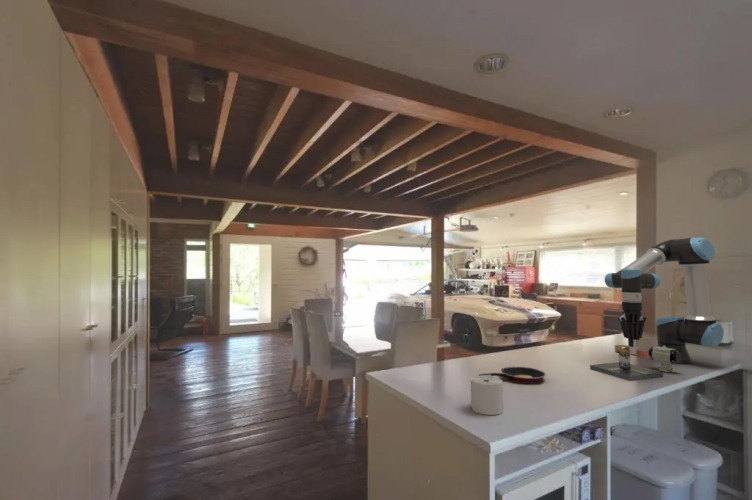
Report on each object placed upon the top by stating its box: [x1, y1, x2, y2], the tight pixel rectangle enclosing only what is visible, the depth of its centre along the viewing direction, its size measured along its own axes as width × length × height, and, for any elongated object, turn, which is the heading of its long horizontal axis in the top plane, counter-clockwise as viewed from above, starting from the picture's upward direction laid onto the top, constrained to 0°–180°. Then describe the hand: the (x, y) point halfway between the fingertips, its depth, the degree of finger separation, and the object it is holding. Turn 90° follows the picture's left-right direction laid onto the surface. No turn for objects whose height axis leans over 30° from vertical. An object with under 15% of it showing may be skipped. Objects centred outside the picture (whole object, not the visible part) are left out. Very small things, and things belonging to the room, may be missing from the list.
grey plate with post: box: [589, 353, 664, 382], centre depth 166 cm, size 20×20×9 cm
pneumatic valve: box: [648, 346, 682, 373], centre depth 168 cm, size 6×12×12 cm, turn 20°
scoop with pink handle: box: [614, 344, 650, 359], centre depth 163 cm, size 14×7×3 cm, turn 13°
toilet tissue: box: [470, 374, 504, 416], centre depth 123 cm, size 11×12×10 cm
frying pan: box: [478, 366, 547, 384], centre depth 156 cm, size 19×32×4 cm, turn 106°
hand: (633, 353), depth 160 cm, fingers closed
